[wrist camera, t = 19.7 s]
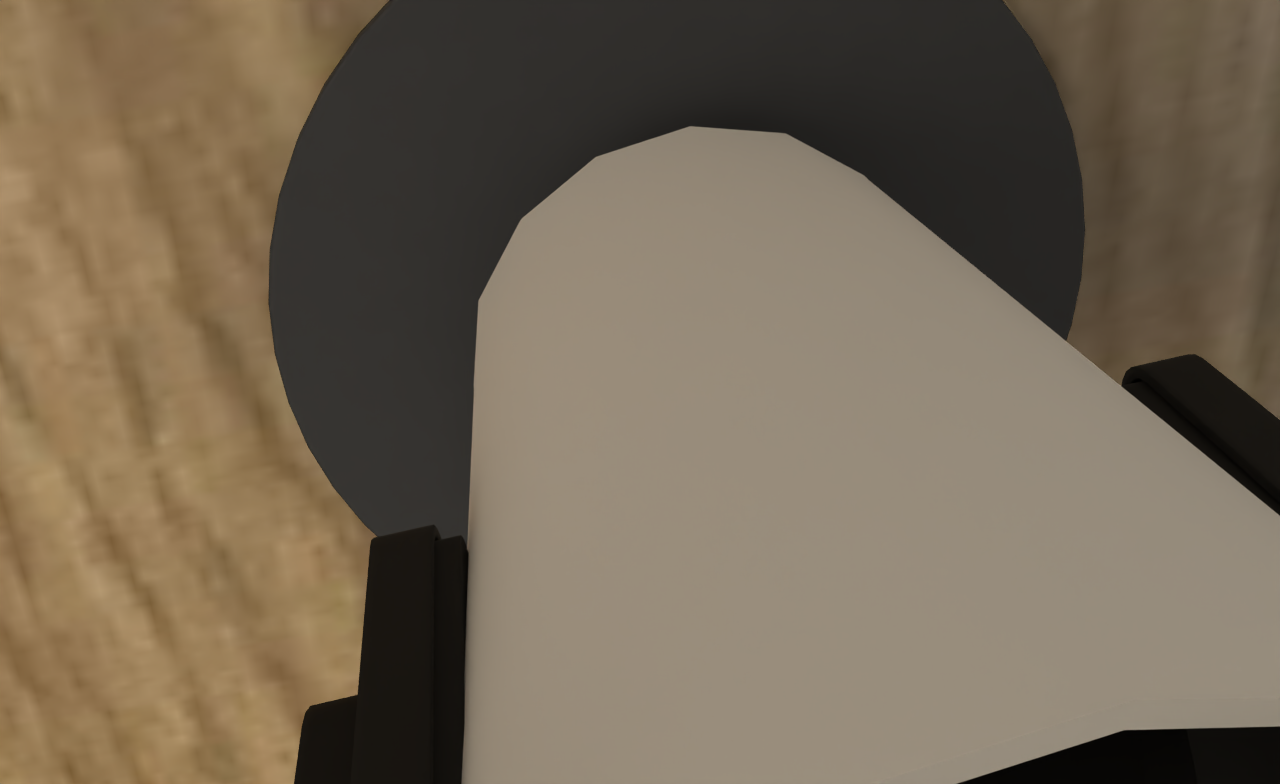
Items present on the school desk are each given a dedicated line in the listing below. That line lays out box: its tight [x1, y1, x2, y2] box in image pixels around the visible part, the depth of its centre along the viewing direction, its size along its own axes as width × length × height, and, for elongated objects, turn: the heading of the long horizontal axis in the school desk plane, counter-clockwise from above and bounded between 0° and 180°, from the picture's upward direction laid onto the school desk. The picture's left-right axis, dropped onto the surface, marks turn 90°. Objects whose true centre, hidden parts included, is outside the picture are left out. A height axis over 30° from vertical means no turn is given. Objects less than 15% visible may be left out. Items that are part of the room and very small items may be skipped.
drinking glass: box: [461, 126, 1280, 784], centre depth 11 cm, size 7×7×10 cm
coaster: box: [269, 0, 1085, 547], centre depth 16 cm, size 11×11×1 cm
